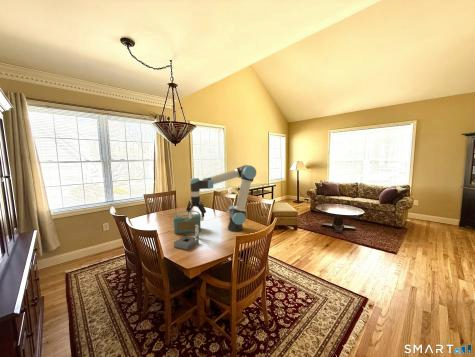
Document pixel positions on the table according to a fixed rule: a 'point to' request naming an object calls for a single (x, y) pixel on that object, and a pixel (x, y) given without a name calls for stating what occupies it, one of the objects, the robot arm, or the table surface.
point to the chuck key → (196, 231)
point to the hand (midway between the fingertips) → (196, 219)
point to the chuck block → (186, 242)
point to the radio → (186, 222)
